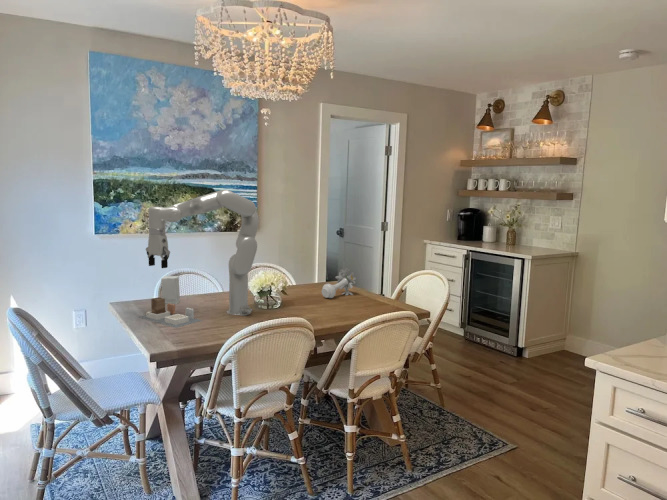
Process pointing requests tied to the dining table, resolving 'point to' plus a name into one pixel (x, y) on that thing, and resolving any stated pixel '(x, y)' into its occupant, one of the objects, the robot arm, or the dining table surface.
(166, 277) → the skincare box
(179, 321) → the tag board
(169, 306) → the terracotta tag
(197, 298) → the dining table surface
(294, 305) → the dining table surface
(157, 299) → the walnut plug
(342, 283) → the flower vase
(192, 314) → the pale grey tag
